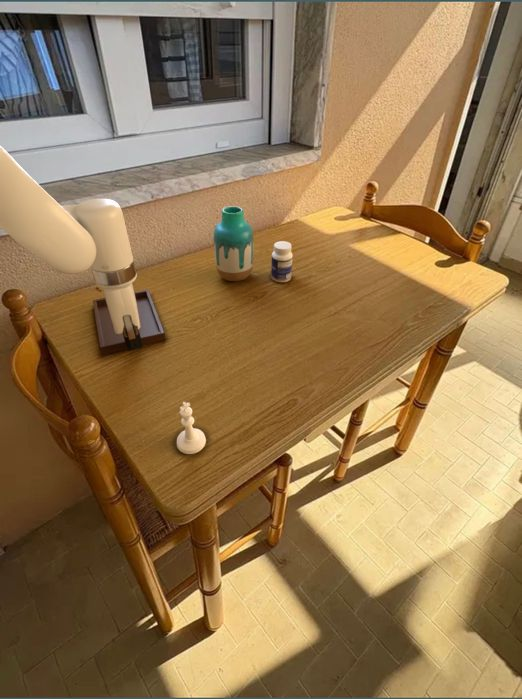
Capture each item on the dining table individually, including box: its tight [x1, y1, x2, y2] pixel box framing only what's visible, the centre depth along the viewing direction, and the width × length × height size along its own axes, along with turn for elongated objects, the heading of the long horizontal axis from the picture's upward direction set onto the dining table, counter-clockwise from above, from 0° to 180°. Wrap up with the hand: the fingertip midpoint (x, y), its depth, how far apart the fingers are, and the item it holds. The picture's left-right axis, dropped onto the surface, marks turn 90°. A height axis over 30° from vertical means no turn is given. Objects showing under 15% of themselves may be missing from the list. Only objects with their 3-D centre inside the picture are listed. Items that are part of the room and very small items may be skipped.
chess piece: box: [176, 401, 207, 455], centre depth 62 cm, size 5×5×10 cm
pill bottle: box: [270, 240, 294, 283], centre depth 104 cm, size 6×6×10 cm
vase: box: [213, 205, 255, 282], centre depth 101 cm, size 11×11×19 cm
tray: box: [92, 288, 167, 356], centre depth 90 cm, size 14×20×2 cm
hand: (134, 346), depth 82 cm, fingers closed
